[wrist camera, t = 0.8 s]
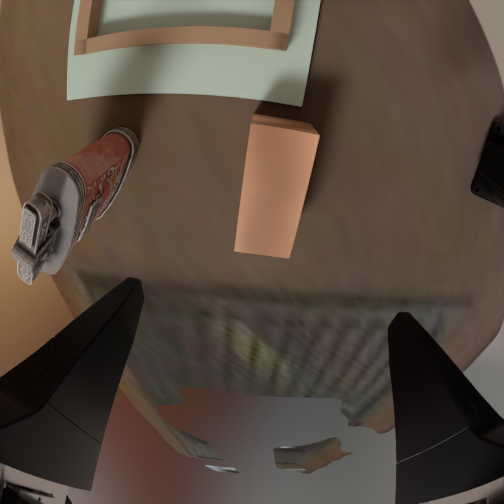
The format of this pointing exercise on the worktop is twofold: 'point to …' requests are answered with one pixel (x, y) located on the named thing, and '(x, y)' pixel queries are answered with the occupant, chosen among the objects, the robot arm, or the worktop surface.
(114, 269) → the worktop surface
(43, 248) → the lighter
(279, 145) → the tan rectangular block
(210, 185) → the worktop surface
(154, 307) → the worktop surface
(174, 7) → the mat
